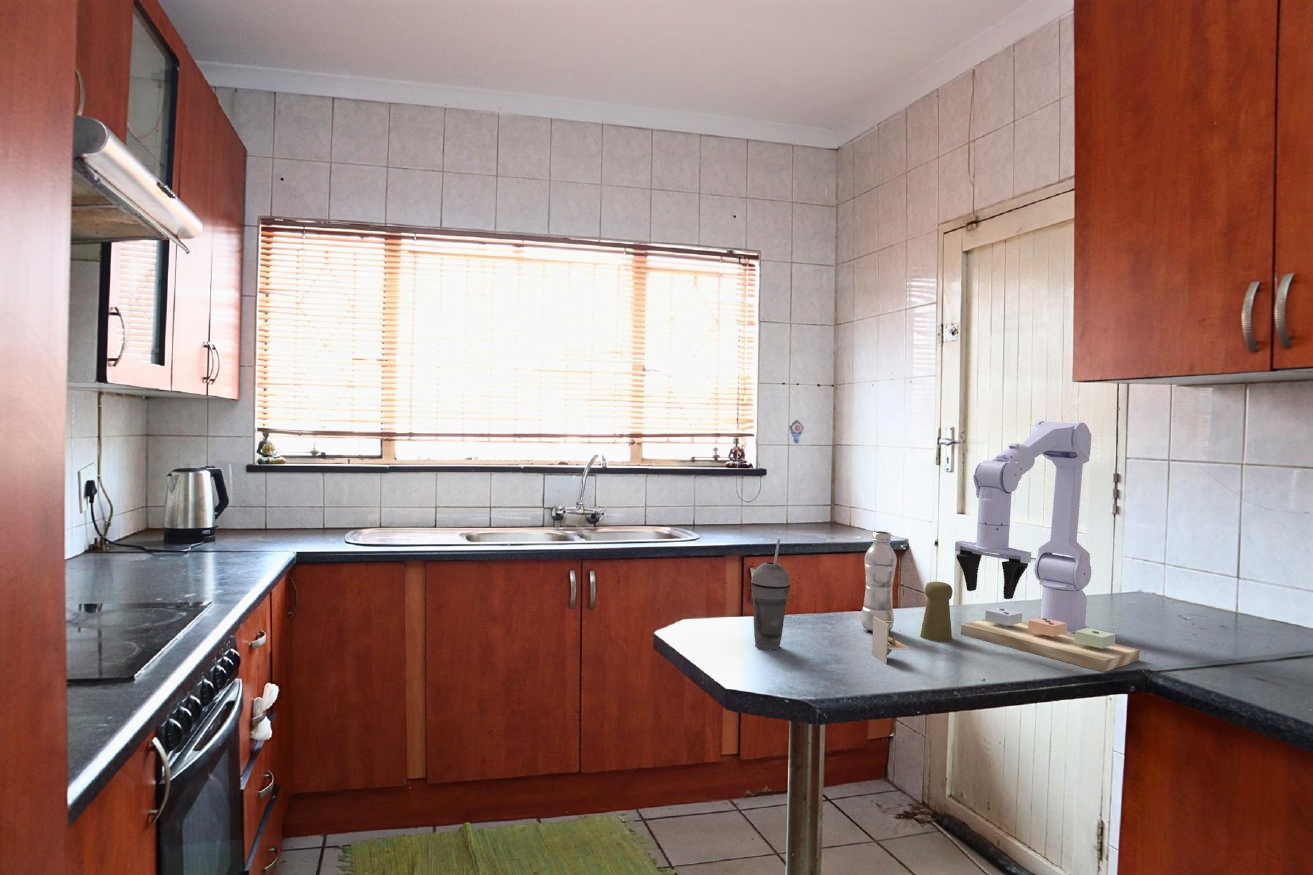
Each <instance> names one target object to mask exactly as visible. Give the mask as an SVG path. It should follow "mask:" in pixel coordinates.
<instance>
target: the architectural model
mask: <svg viewBox="0 0 1313 875" xmlns="http://www.w3.org/2000/svg"><path fill="white" fill-rule="evenodd" d="M891 622H892V621H881V620H880V619H878V618H876V617H874V621H873V631H872V647H871V656H873V657H874V658H876V659H877V660H879V661H880V662H882V663H883V664H885V665H887V663H888V656H889V654H890V653H892V651H895V650H897V651H902V650H903V651H906V650H907V651H908V650H909V647H908V646H906V645H904V643H901V642H900V641H898V640H897V636H895V635H893V634H892V633H890V631H891V630H892V629H893V627H892V628H891V629H890V630H889V631H888V629H889V625H890V624H891ZM892 636H893V637H892Z"/></svg>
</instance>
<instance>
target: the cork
mask: <svg viewBox="0 0 1313 875" xmlns="http://www.w3.org/2000/svg"><path fill="white" fill-rule="evenodd" d="M953 592H954V591H953V587H952V586H951V584H949V583H946V582H943V581H929V582H927V584H926V585H925V588H924V594H925V596H926V598H927V600H926V603H925V610H924V615H923V621H922V626H921V631H920V635H919V636H920V638H922V639H925V640H928V641H932V642H939V643H941V642H944V643H948V642H951V641H953V636H952V635H953V632H952V621H951V620H952V619H951V608H950V600H951V599H952V596H953Z"/></svg>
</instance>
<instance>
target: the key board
mask: <svg viewBox="0 0 1313 875" xmlns="http://www.w3.org/2000/svg"><path fill="white" fill-rule="evenodd" d="M960 635H962V636H966V637H970V638H975V639H978V640H982V641H985V642H990V643H994V644H997V645H999V646H1000V645H1001V646H1005V647H1008V648H1012V649H1014V650H1019V651H1024V652H1026V653H1031V654H1034V655H1038V656H1042V657H1047V658H1049V659H1053V660H1057V661H1060V662H1066V663H1068V664H1073V665H1077V666H1080V667H1084V668H1088V669H1090V670H1095V671H1097V672H1098V671H1099V672H1102V673H1106V672H1108V671H1112V670H1114V669H1117V668H1122V667H1123V666H1126V665H1129V664H1132V663H1135V662H1139V661H1140V652H1141V649H1138V648H1134V647H1130V646H1125V645H1121V644H1117V643H1115V645H1113V646H1109V647H1106V648H1103V649H1102V648H1098V647H1094V646H1090V645H1085V644H1081V643H1077V642H1074V641H1075V633H1073V634H1071V633H1067V632H1066V633H1065V634H1062V635H1058V636H1054V637H1053V636H1049V635H1044V634H1040V633H1036V632H1032V631H1028V622H1024V621H1022V623H1018V624H1014V625H1010V626H1007V625H1003V624H999V623H995V622H991V621H987V620H985V618H984V619H980V620H976V621H971V622H966V623H962V624H961V625H960Z"/></svg>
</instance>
